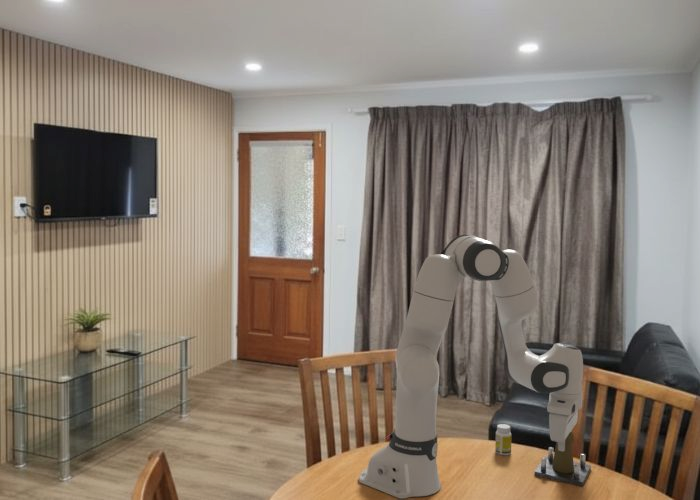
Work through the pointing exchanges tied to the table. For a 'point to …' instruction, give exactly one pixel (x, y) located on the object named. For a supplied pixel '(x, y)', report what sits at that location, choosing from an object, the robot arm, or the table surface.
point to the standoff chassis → (572, 478)
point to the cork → (564, 457)
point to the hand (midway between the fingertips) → (563, 447)
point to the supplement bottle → (503, 440)
